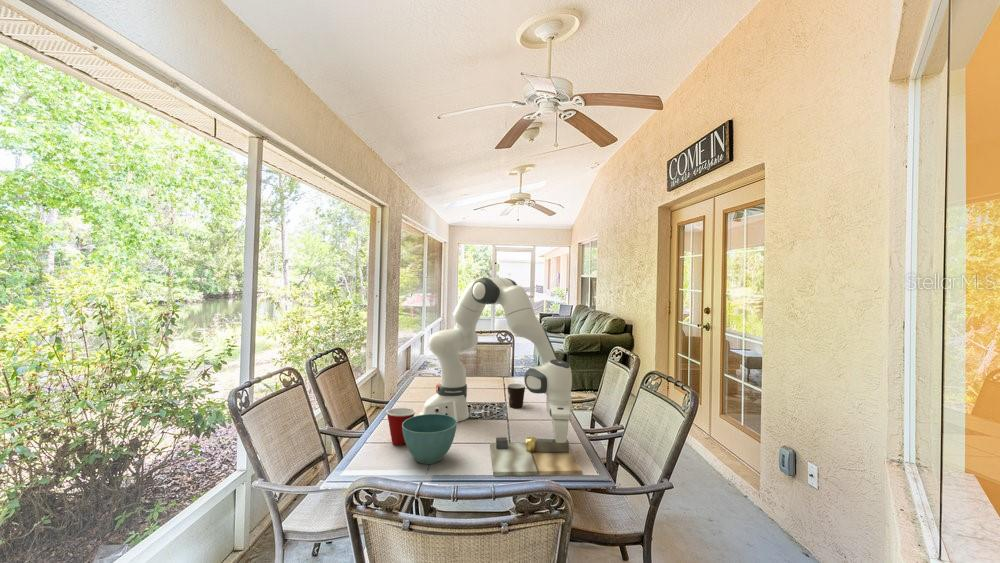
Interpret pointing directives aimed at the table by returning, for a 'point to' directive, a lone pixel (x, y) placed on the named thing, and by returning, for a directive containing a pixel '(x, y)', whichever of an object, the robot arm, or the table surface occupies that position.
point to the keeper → (501, 443)
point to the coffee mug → (516, 395)
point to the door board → (531, 462)
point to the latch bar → (546, 445)
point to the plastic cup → (398, 423)
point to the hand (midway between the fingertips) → (558, 445)
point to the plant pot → (429, 436)
